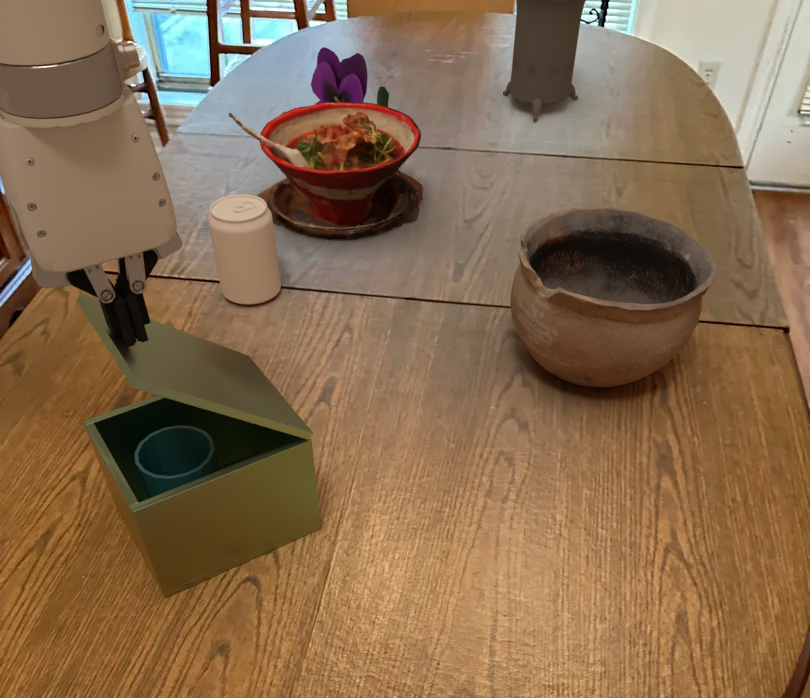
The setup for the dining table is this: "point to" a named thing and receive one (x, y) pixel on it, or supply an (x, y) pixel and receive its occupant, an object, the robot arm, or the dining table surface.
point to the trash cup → (174, 458)
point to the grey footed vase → (544, 51)
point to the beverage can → (244, 248)
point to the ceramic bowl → (607, 293)
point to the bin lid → (197, 373)
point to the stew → (341, 168)
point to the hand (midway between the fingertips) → (132, 334)
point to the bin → (208, 491)
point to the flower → (342, 79)
